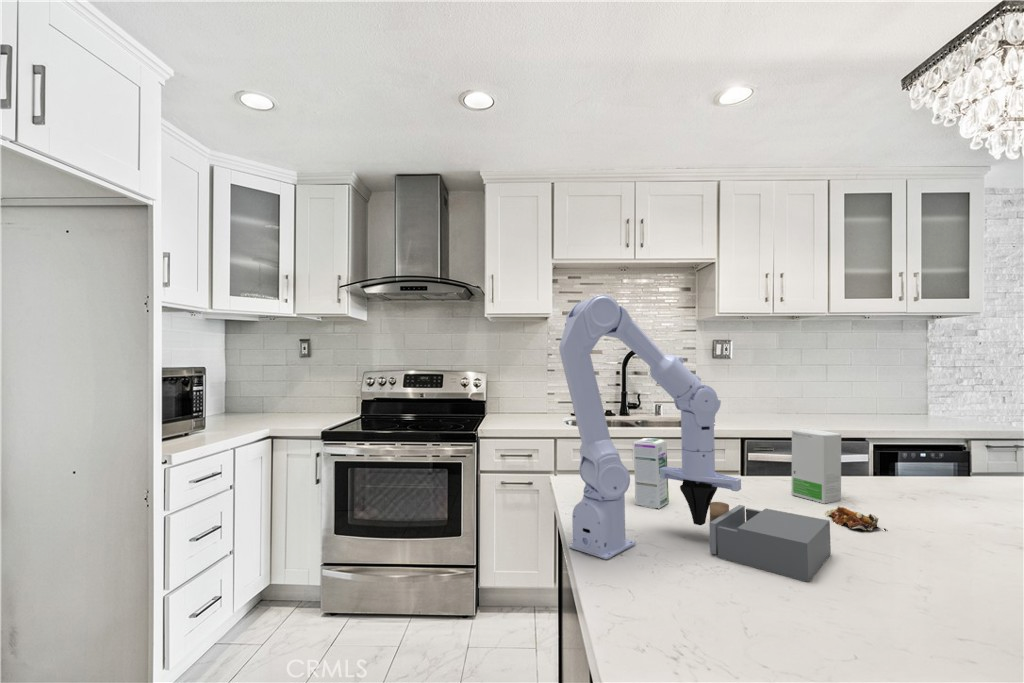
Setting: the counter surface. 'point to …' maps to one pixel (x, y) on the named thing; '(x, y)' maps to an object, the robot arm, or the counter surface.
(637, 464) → the syrup box
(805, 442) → the skincare box
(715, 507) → the stand
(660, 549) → the counter surface
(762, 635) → the counter surface
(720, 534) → the housing
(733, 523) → the tray
